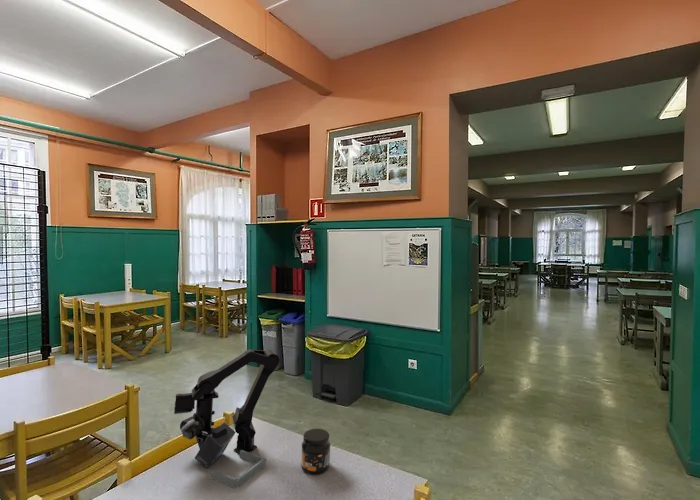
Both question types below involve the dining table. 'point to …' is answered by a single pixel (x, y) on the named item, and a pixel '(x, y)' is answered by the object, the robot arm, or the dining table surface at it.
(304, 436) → the supplement container
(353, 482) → the dining table surface
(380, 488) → the dining table surface
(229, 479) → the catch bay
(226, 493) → the dining table surface
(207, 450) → the small box
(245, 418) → the robot arm
